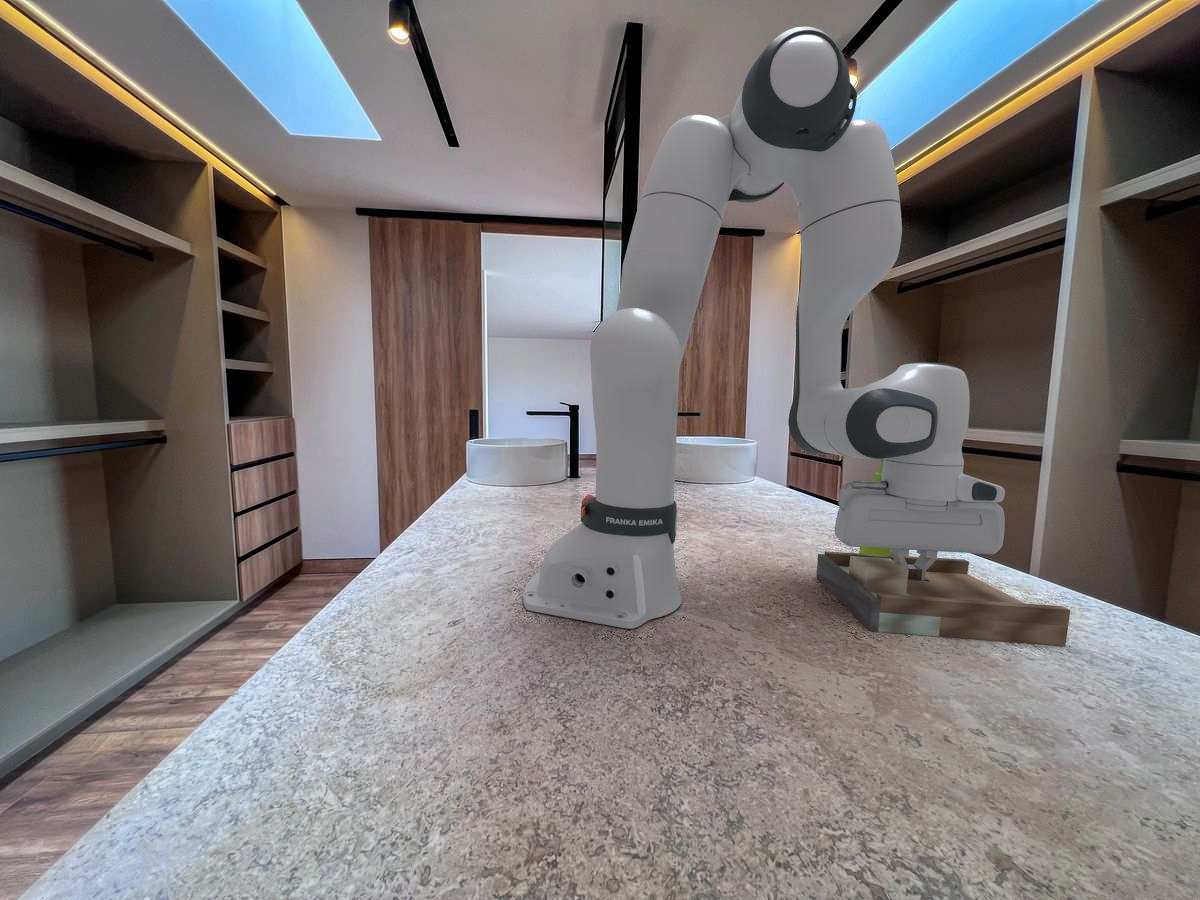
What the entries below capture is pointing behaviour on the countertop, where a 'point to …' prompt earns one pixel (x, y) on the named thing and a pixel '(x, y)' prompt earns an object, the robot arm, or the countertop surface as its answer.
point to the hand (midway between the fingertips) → (910, 578)
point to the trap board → (943, 604)
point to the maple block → (879, 574)
